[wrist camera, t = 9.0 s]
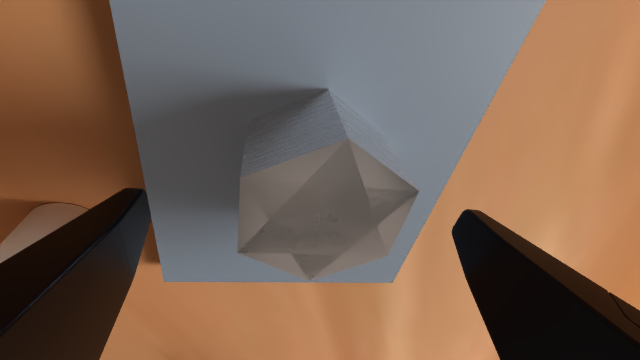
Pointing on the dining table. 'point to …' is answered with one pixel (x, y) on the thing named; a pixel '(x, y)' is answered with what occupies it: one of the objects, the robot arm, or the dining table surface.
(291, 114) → the grey faceted polyhedron
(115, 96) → the dining table surface
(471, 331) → the dining table surface
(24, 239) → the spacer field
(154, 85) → the board
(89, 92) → the dining table surface
